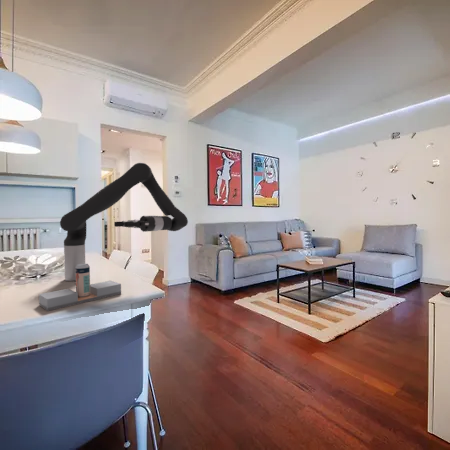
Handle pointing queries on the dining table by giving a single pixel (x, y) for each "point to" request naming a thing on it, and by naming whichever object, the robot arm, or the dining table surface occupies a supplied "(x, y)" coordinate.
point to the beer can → (83, 280)
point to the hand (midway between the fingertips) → (119, 224)
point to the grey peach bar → (71, 297)
